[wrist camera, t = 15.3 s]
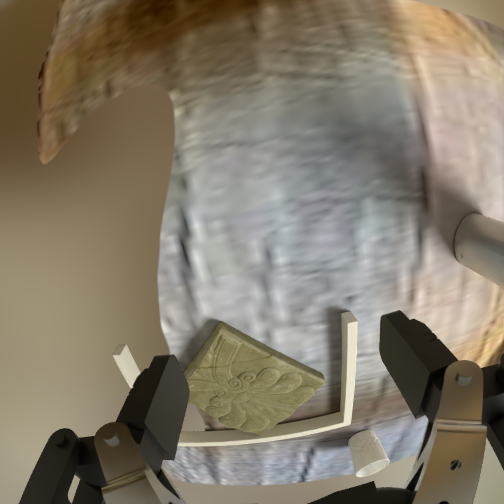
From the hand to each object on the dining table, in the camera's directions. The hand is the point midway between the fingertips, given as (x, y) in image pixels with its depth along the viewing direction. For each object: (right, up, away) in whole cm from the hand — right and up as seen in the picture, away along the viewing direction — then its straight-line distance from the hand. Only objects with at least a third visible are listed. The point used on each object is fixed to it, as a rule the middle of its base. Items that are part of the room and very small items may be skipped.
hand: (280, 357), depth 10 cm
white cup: (+25, -40, +40) cm, 61 cm away
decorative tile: (-2, -18, +33) cm, 38 cm away
